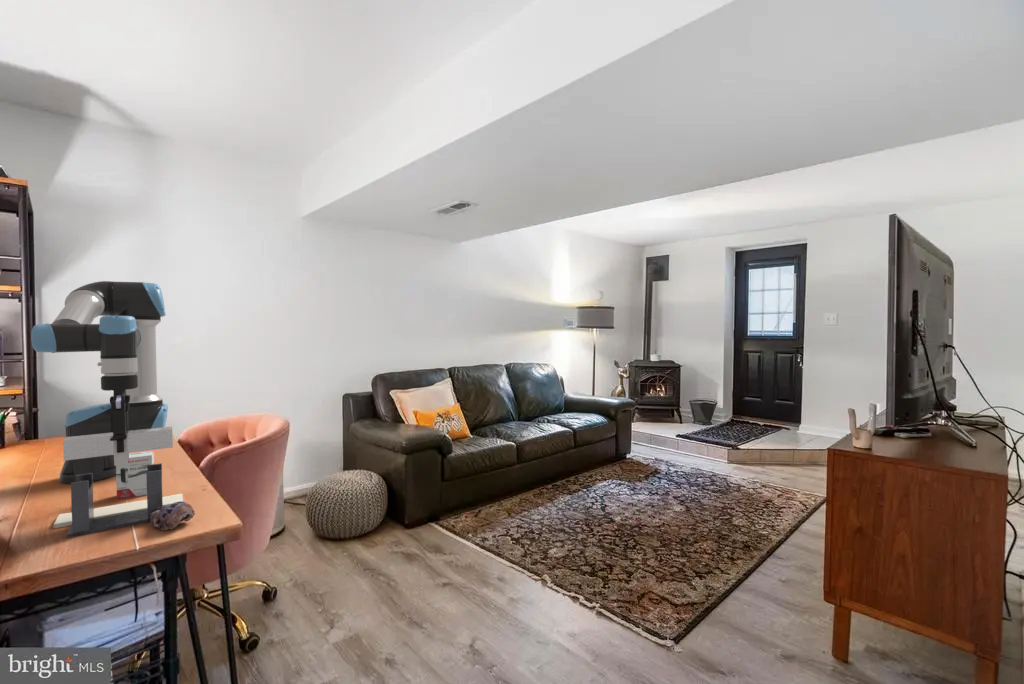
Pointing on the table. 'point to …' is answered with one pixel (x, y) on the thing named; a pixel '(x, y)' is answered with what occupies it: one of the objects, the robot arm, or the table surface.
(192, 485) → the table surface
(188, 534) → the table surface
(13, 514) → the table surface
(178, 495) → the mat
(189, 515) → the purple rock
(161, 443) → the whetstone
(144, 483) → the ink box
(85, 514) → the stand
